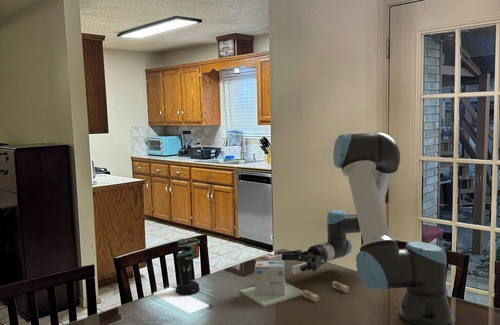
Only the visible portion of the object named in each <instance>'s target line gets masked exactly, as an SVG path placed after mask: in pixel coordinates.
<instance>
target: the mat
mask: <svg viewBox="0 0 500 325" xmlns="http://www.w3.org/2000/svg"><path fill="white" fill-rule="evenodd" d="M303 291H304V290H302V289H300V288H298V287H296V286H294V285H292V284H290V283H287V282H286V281H285V295H256V290H255V286H250V287H246V288H243V289H240V290H239V292H240V293H241V294H243V295H244V296H246V297H247V298H249V299H251V300H252V301H254V302H255V303H257V304H258V305H260V306H261V307H263V308H266V307H269V306H273V305H276V304H278V303H279V302H280V303H283V302H286V301H289V300H292V299H291V298H293V299H295V298H294V297H296V298H298V297H297V296H299V297H301V296H300V295H303ZM288 299H289V300H288ZM280 303H279V304H280Z"/></svg>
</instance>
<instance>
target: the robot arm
mask: <svg viewBox="0 0 500 325" xmlns="http://www.w3.org/2000/svg"><path fill="white" fill-rule="evenodd" d="M333 147H334V148H333V154H332V155H333V157H332V158H333V164H334V166H335V167H336V168H338V169H341V172H342V174H343V176H345V177H346V178H348V183H349V187H350V192H351V195H352V199H353V204H354V210H355V214H347V213H346V211H344V210H341V209H333V210H330V211H328V212H327V214H326V215H327V216H326V217H327V218H326V226H327V229H326V230H327V241H324V242H321V243H318V244H315V245H311V246H309V247H308V248H307V250H304V251H302V250H301V249H296V250H289V251H287V250H286V251H277V255H273V256H270V257H267V261H297V262H302V263H299V264H295V265H292V266H291V267H292V268H291V269H292V271H291V272H292V275H296V274H300V273H302V272H306V271H311V270H312V272H316V271H317V270H318V269H319V268H320V267H321V266H322V265H324V264H325V263H328V262H330V261H333V260H336V259H340V258H344V257H346V256H348V255H349V254H351V252H352V248H353V247H352V243H351V241H350V240H349V239H348V238H347V234H359V233H360V235H361V239H362V244H361V245H360V247H359V252H357V254H356V256H355V263H356V265H355V267H356V270H357V274H358V277H359V278H360V281H361V282H362V284H363V285H364V286H365V287H366V288H367V289H369V290H372V291H375V290H376V291H386V290H390V289H392V290H393V289H403V288H405V293H404V296H403V299H402V302H401V304H400V306H399V311H400V313H399V314H400V316H401V318H402V319H403V320H404V321H406V322H408V323H410V324H412V325H450V324H451V323H452V321H453V315H452V314H453V313H452V309H451V306H450V304H449V300H448V297H447V264H448V262H447V253H446V251H445V249H443V248H442V247H441V246H439V245H436V244H432V243H430V242H429V243H428V242H422V241H408V242H407V243H406V245H405V248H399V246H398V242H397V240H395V239H394V238H392V237H391V235H390V231H389V227H388V223H387V220H386V215H385V212H384V208H383V203H384V201H385V199H386V195H387V192H388V189H389V186H390V183H391V180H392V178H393V174H395V173H396V172H397V171H398V169H399V167H400V164H401V152H400V148H399V146H398V144H397V142H396V141H395V140H394V139H393V138H392V137H391V135H388V134H386V133H383V132H368V133H367V132H366V133H365V132H364V133H346V134H345V133H344V134H340V135H338V136H337V138H336V139H335V142H334V145H333Z"/></svg>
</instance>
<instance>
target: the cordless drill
mask: <svg viewBox="0 0 500 325" xmlns="http://www.w3.org/2000/svg"><path fill="white" fill-rule="evenodd" d="M176 244H177V247H178V249H179V250H181V251H180V252H179V253H177V255H176V258H177V265H178V271H179V279H180V282H181V283H179V284H177V285H176V287H175V294H176V295H179V296H191V295H196V294H197V293H199V292H200V291H201V289H200V284H199V283H198V282H197V281H195V280H192V263H191V262H192V260H195V259H199V257H200V239H199V238H196V237H194V238H190V237H189V238H180V239H178V241H177V243H176Z"/></svg>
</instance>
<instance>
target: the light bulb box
mask: <svg viewBox="0 0 500 325" xmlns="http://www.w3.org/2000/svg"><path fill="white" fill-rule="evenodd" d="M285 271H286V270H285V260H282V261H268V260H256V261H255V264H254V283H255V284H254V285H255V290H256V295H285V282H286V277H285V276H286V275H285V274H286V273H285Z"/></svg>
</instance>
